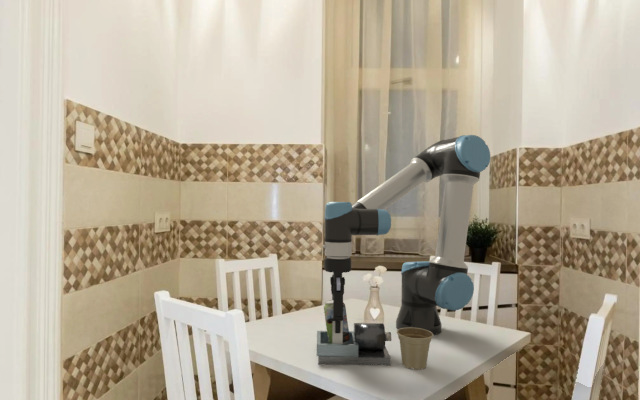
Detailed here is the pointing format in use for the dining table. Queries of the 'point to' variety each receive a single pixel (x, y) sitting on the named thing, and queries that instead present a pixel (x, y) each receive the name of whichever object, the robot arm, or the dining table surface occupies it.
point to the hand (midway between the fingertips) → (336, 339)
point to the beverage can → (329, 324)
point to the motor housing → (356, 347)
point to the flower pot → (414, 346)
